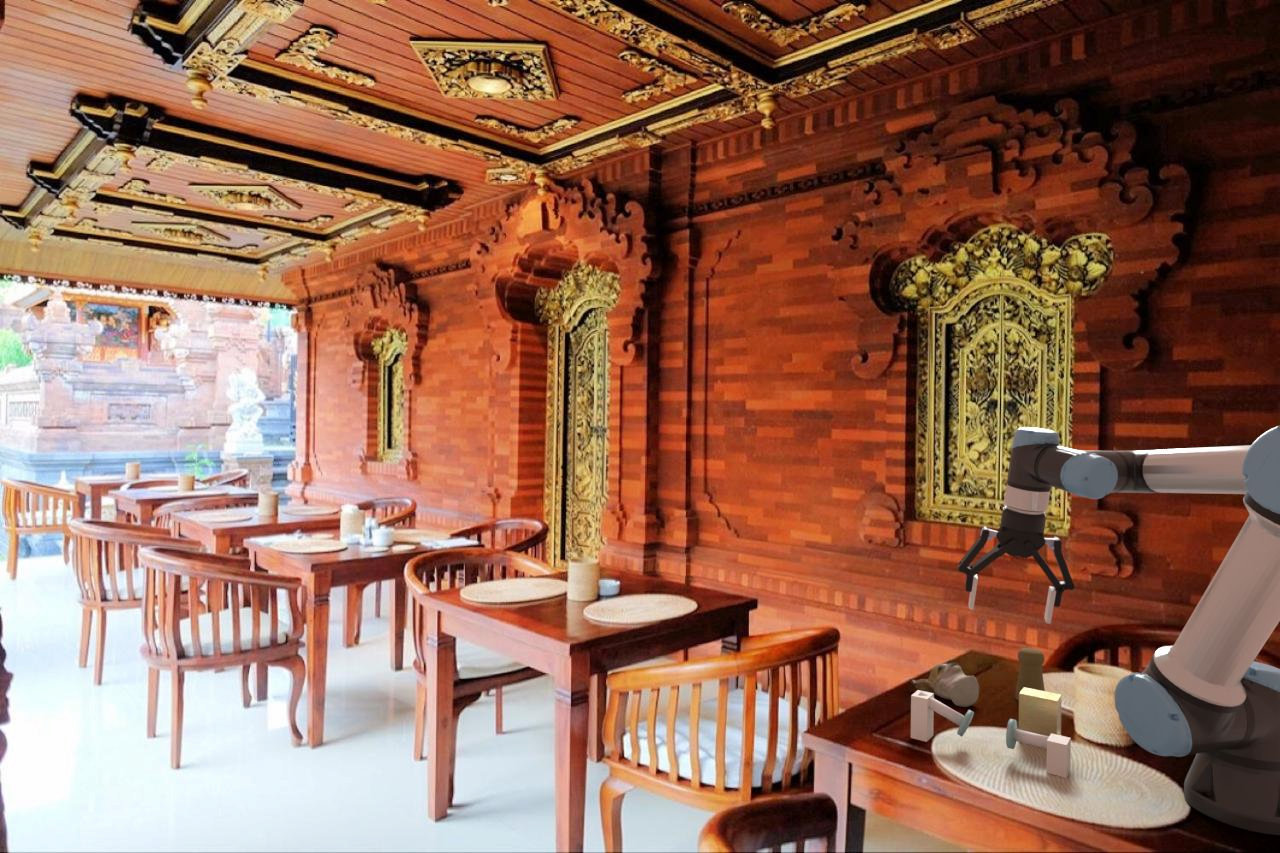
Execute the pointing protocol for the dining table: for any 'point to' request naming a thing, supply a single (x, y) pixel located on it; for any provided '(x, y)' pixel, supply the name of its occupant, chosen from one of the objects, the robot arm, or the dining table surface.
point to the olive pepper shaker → (1030, 670)
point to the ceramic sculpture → (950, 684)
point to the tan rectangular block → (1039, 712)
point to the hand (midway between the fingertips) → (1008, 614)
